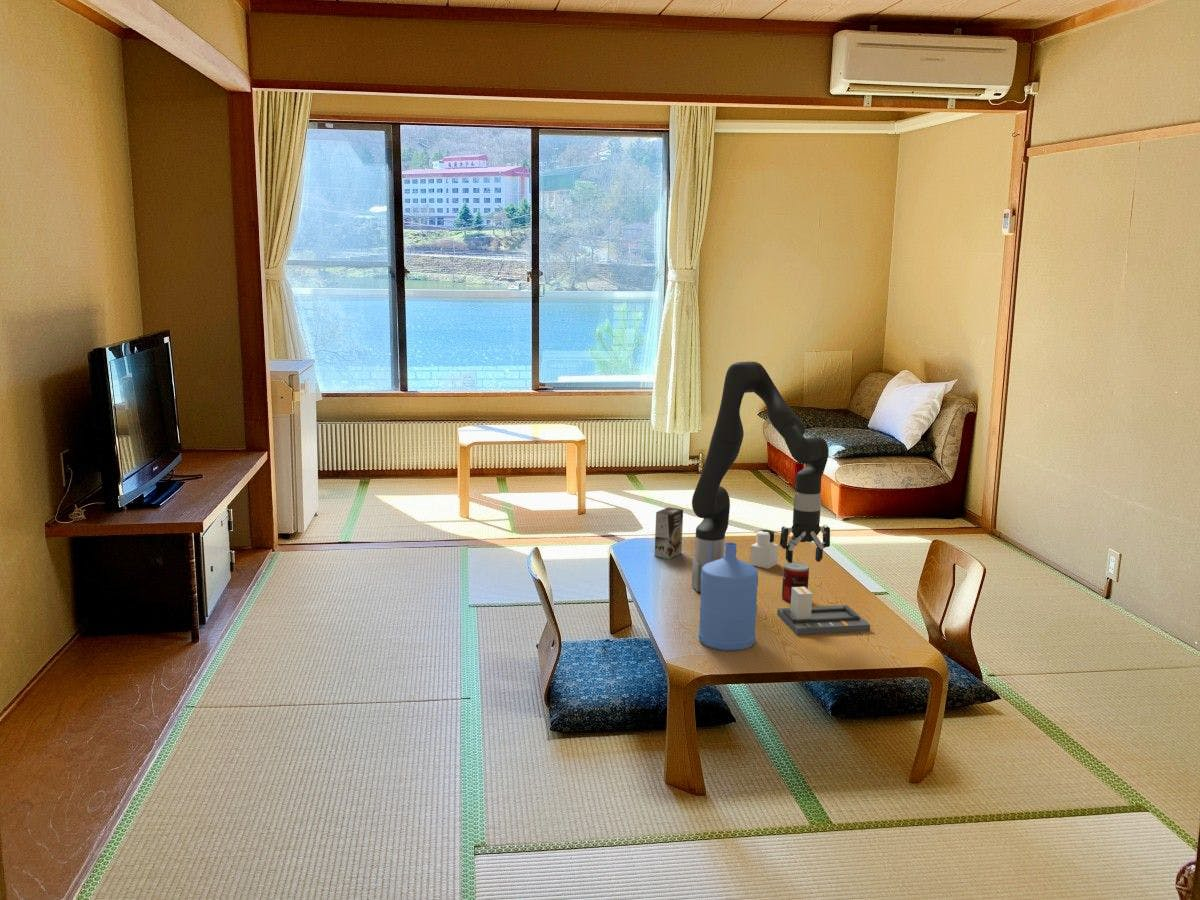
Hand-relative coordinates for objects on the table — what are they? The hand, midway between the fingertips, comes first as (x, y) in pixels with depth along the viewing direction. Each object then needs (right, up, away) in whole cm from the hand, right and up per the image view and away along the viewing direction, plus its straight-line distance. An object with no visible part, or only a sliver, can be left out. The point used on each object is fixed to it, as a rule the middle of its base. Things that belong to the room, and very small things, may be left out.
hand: (803, 561), depth 289 cm
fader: (0, -16, +3) cm, 17 cm away
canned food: (+2, -15, +24) cm, 28 cm away
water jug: (-23, -21, -9) cm, 33 cm away
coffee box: (-34, -5, +66) cm, 75 cm away
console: (+7, -18, +5) cm, 20 cm away
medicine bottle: (-2, -8, +57) cm, 58 cm away
